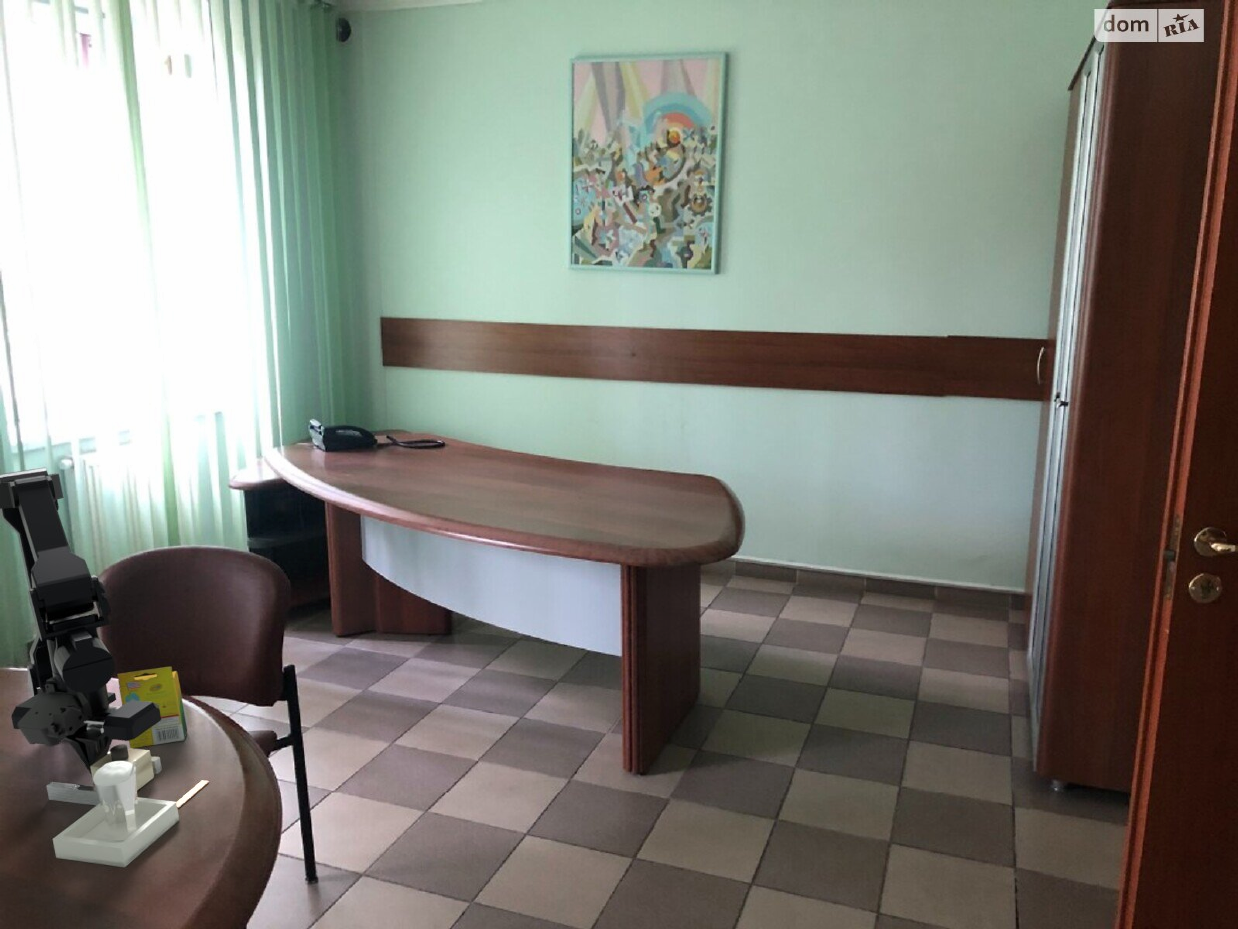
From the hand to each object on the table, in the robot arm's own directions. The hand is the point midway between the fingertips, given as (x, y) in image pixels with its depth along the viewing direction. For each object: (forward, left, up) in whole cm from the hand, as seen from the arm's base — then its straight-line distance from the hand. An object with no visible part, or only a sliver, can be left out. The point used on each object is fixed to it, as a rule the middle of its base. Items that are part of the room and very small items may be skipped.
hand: (96, 773), depth 129 cm
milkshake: (+13, -10, -1) cm, 16 cm away
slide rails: (+5, 0, -2) cm, 6 cm away
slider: (+4, 0, -2) cm, 4 cm away
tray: (+12, -10, -2) cm, 15 cm away
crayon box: (0, +12, -2) cm, 12 cm away
